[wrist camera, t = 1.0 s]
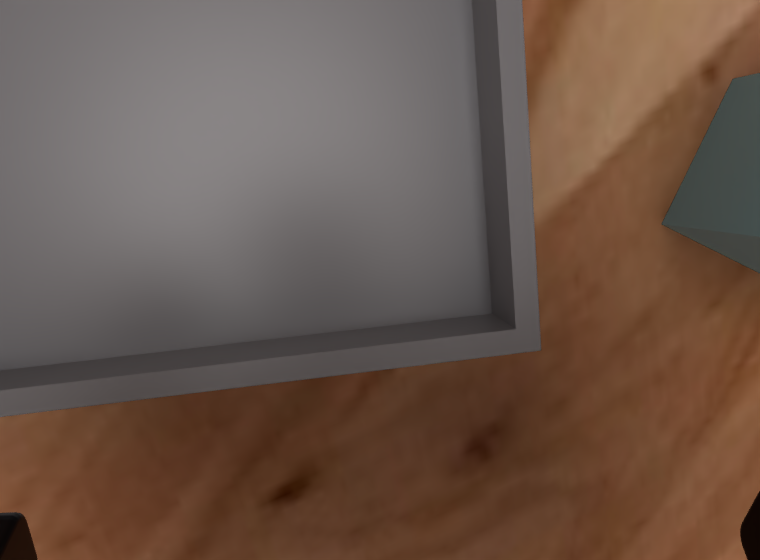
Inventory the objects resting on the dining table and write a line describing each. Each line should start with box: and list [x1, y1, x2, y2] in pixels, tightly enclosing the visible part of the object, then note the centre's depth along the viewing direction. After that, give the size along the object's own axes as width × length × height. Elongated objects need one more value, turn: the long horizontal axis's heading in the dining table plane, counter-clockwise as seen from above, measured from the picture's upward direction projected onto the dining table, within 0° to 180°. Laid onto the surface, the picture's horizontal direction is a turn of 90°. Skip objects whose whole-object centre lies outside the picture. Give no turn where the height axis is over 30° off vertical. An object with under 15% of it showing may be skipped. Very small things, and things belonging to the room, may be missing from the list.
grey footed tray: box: [0, 0, 541, 417], centre depth 18 cm, size 15×15×5 cm
